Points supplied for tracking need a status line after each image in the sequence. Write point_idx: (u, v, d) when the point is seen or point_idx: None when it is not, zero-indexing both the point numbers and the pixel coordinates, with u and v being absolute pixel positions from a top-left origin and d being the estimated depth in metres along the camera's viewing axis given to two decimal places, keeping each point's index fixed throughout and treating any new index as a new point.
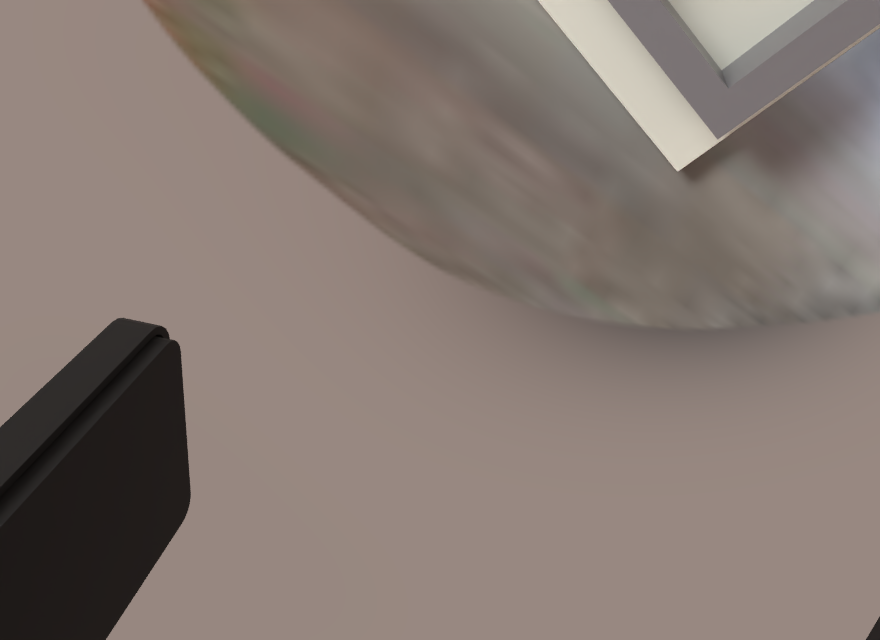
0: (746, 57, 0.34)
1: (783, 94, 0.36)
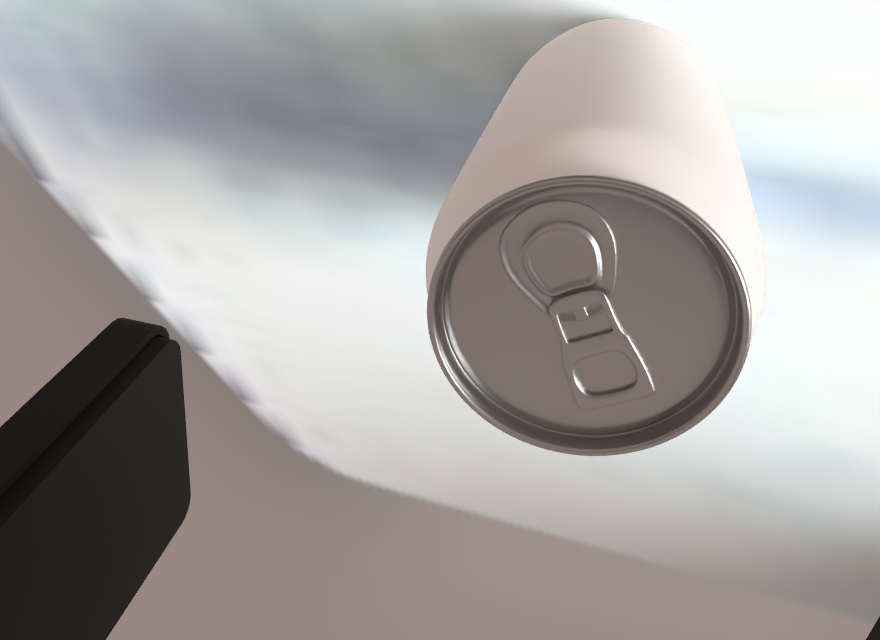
0: None
1: None
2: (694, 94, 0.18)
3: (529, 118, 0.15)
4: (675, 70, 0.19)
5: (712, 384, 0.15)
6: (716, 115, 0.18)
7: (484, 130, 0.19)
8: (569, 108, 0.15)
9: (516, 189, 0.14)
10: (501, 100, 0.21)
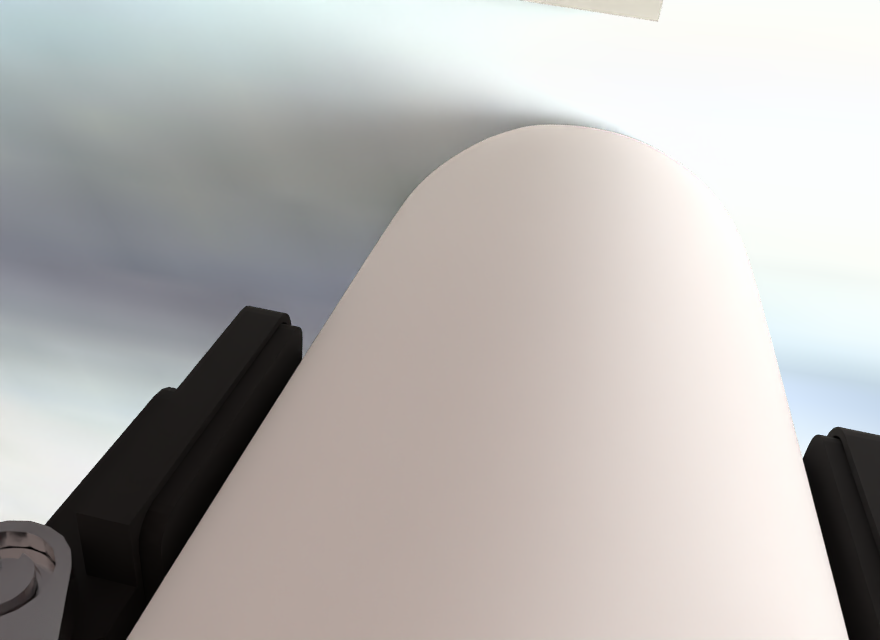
0: None
1: None
2: (711, 370, 0.08)
3: (274, 545, 0.06)
4: (667, 287, 0.09)
5: None
6: (760, 412, 0.08)
7: None
8: (371, 542, 0.05)
9: None
10: None
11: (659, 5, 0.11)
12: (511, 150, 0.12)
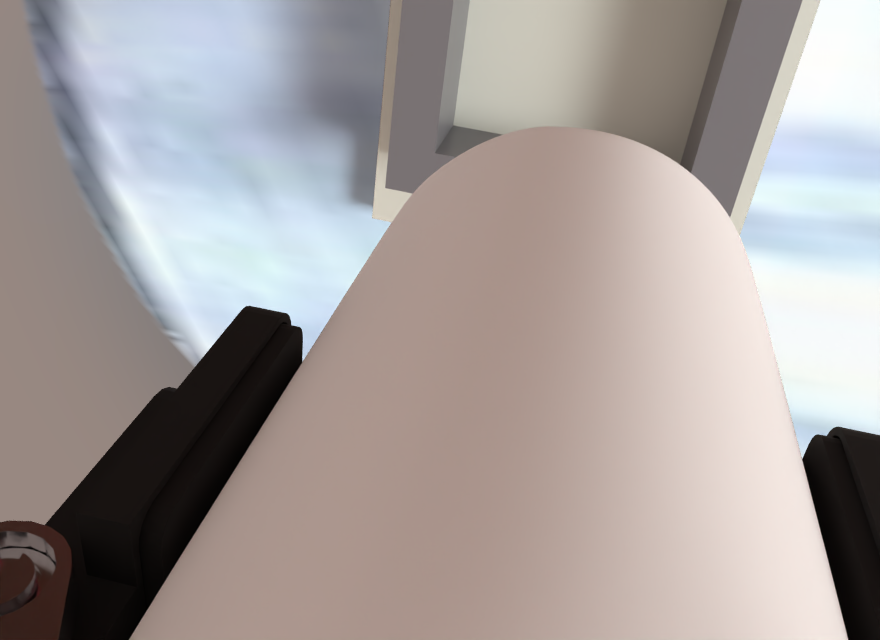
0: None
1: None
2: (711, 373, 0.08)
3: (274, 551, 0.06)
4: (668, 290, 0.09)
5: None
6: (760, 416, 0.08)
7: None
8: (372, 547, 0.05)
9: None
10: None
11: None
12: (511, 152, 0.12)
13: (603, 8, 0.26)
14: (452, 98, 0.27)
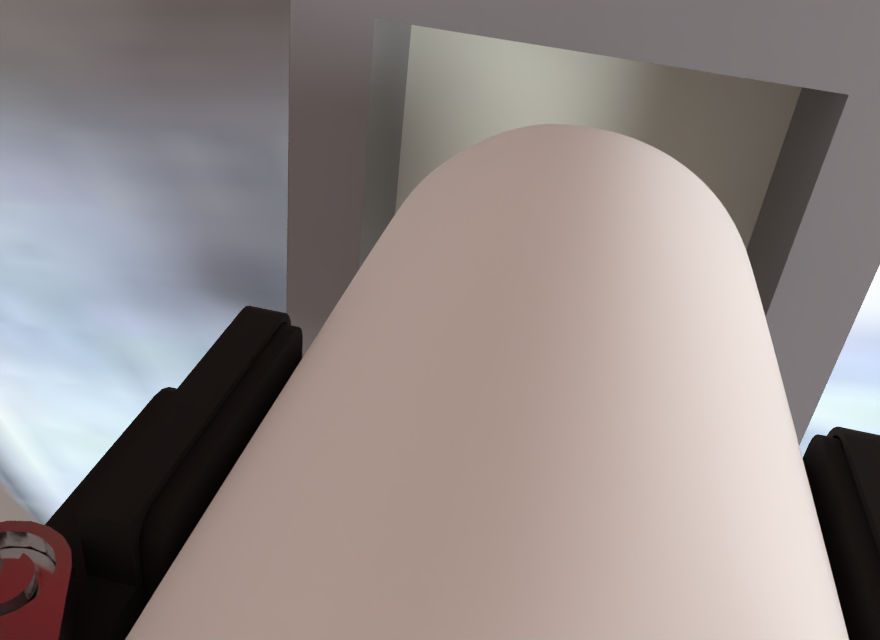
0: (400, 56, 0.16)
1: None
2: (711, 370, 0.08)
3: (272, 547, 0.06)
4: (667, 287, 0.09)
5: None
6: (760, 413, 0.08)
7: (266, 415, 0.09)
8: (370, 543, 0.05)
9: None
10: None
11: None
12: (511, 150, 0.12)
13: None
14: None
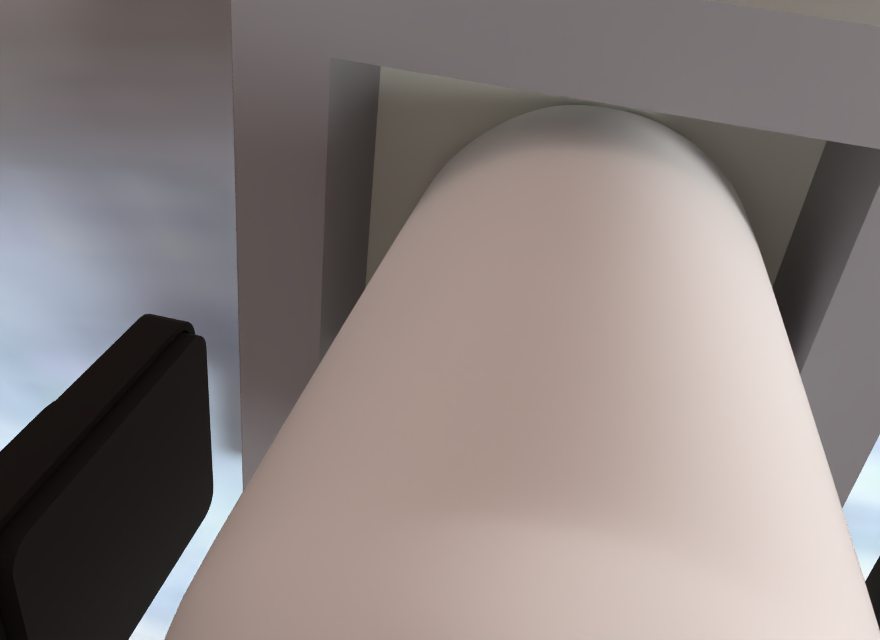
0: (367, 94, 0.14)
1: None
2: (727, 301, 0.09)
3: (370, 418, 0.07)
4: (687, 235, 0.10)
5: None
6: (769, 339, 0.09)
7: (331, 345, 0.10)
8: (455, 408, 0.06)
9: None
10: None
11: None
12: (539, 125, 0.13)
13: None
14: None
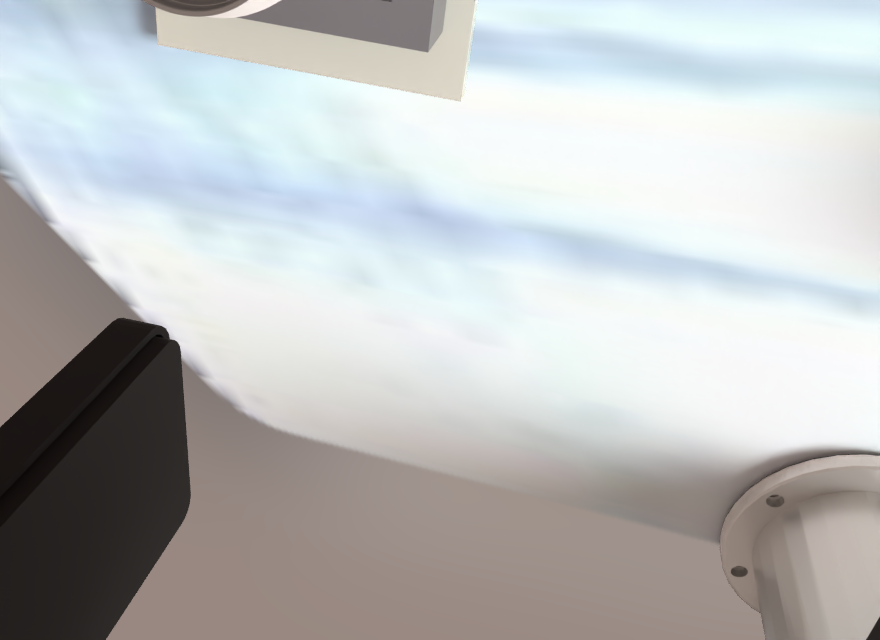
0: None
1: None
2: None
3: None
4: None
5: None
6: None
7: None
8: None
9: None
10: None
11: (460, 96, 0.33)
12: None
13: None
14: None
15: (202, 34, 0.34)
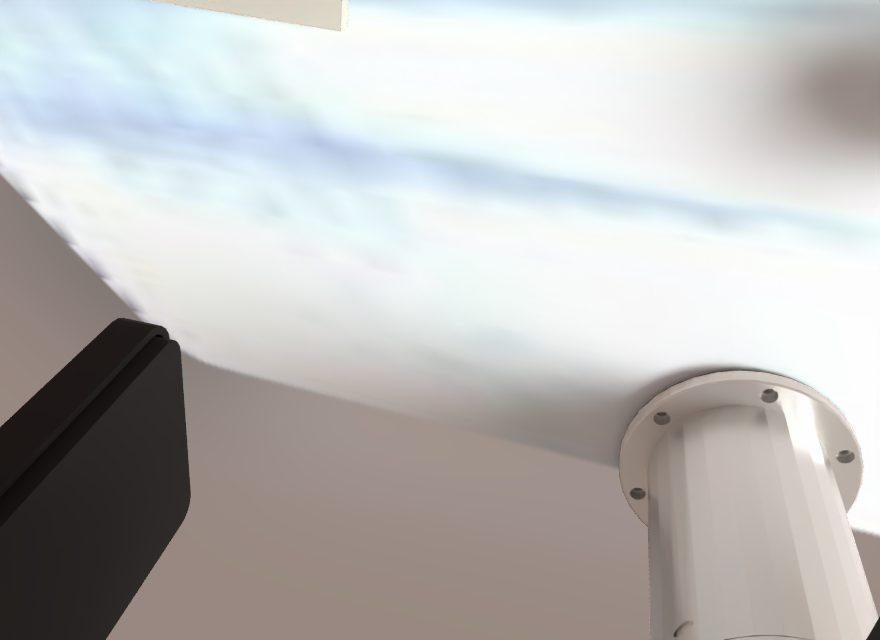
0: None
1: None
2: None
3: None
4: None
5: None
6: None
7: None
8: None
9: None
10: None
11: (340, 26, 0.37)
12: None
13: None
14: None
15: None
